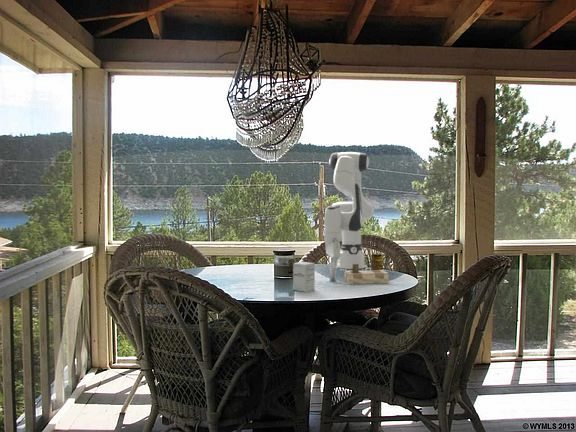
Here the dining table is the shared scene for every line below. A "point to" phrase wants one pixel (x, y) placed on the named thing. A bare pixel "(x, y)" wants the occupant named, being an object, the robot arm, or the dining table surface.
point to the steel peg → (332, 270)
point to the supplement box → (303, 276)
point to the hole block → (366, 277)
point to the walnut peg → (355, 268)
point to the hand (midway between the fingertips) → (333, 265)
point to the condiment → (376, 262)
